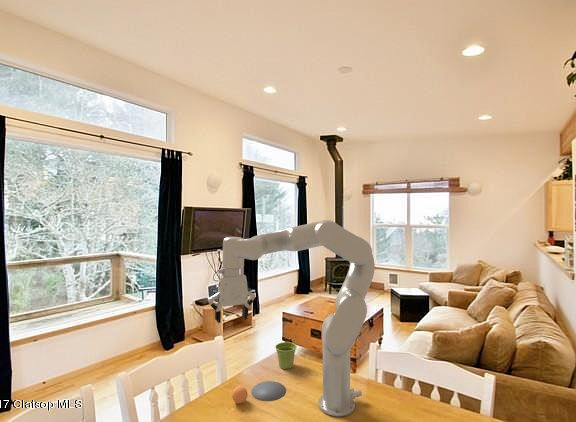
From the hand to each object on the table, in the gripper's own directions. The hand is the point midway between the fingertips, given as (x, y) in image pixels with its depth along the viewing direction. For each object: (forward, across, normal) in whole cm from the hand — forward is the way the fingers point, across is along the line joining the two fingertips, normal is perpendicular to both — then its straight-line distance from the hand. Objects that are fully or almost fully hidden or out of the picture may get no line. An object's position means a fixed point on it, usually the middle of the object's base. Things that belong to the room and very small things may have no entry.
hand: (231, 319), depth 119 cm
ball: (+27, +3, -2) cm, 27 cm away
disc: (+29, +15, 0) cm, 33 cm away
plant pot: (+29, +30, +15) cm, 44 cm away
